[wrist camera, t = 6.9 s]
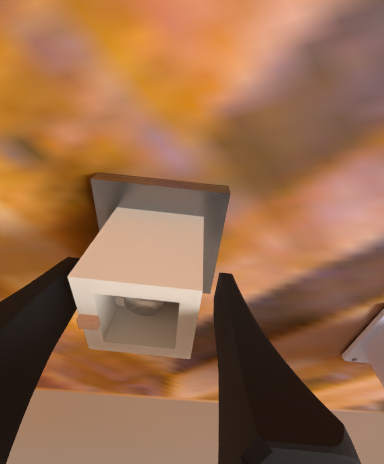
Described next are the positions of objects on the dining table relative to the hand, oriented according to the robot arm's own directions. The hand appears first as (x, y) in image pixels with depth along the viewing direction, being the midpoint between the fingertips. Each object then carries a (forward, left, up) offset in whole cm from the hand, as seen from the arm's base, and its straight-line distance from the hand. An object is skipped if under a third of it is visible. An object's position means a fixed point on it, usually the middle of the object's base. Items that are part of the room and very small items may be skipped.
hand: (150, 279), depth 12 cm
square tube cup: (0, 0, -3) cm, 3 cm away
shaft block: (0, 0, -4) cm, 4 cm away
